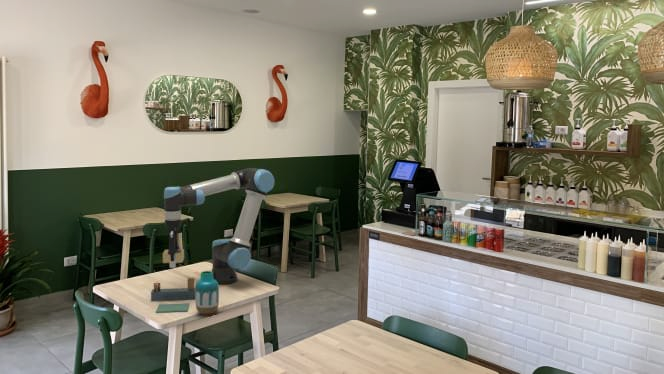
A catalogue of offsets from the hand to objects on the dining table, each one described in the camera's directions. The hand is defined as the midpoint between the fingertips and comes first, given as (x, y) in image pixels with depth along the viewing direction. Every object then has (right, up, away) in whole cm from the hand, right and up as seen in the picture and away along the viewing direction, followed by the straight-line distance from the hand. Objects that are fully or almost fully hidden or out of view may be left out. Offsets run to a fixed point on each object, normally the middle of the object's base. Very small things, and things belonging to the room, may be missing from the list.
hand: (173, 264), depth 258 cm
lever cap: (0, +2, 0) cm, 2 cm away
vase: (+20, -20, -16) cm, 33 cm away
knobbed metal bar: (0, -17, +2) cm, 17 cm away
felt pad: (+3, -19, -12) cm, 22 cm away
